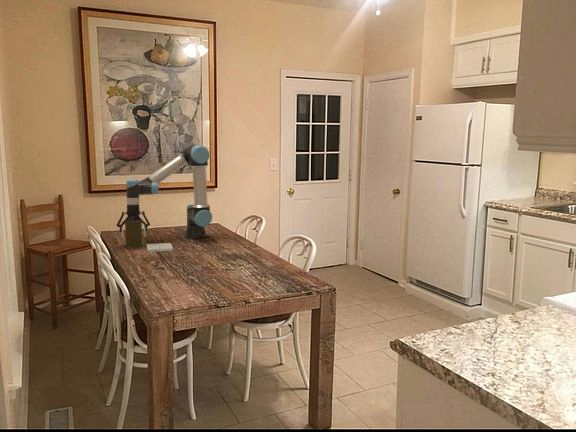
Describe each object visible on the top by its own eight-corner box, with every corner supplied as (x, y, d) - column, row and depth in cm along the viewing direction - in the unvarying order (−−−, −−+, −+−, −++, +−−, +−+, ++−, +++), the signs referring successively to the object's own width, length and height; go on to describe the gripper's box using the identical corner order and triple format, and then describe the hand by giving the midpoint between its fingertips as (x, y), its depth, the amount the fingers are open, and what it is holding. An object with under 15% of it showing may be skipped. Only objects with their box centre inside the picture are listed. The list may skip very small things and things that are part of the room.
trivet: (170, 245, 317) (170, 242, 317) (173, 250, 303) (172, 248, 303) (146, 246, 312) (146, 243, 312) (147, 252, 298) (147, 249, 298)
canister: (139, 248, 306) (138, 217, 303) (123, 247, 307) (122, 216, 303) (144, 244, 317) (144, 214, 314) (129, 243, 317) (128, 213, 314)
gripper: (153, 202, 315) (153, 234, 318) (112, 203, 307) (113, 236, 310) (153, 204, 308) (154, 237, 311) (112, 205, 300) (113, 238, 303)
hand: (133, 236), depth 311 cm, fingers open, 13 cm apart
